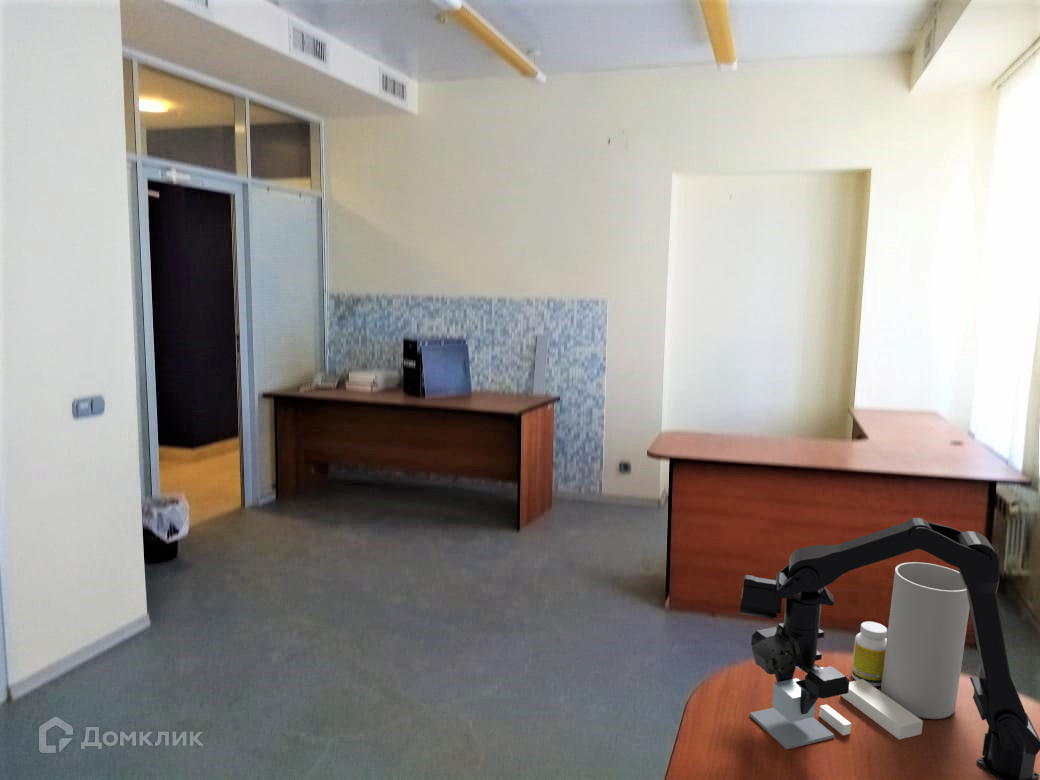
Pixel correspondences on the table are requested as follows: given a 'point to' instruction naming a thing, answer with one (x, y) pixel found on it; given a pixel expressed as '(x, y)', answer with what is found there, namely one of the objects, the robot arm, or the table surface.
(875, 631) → the pill bottle
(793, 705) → the pale blue cube
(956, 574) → the cylinder vase
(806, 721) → the mat
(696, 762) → the table surface
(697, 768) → the table surface
